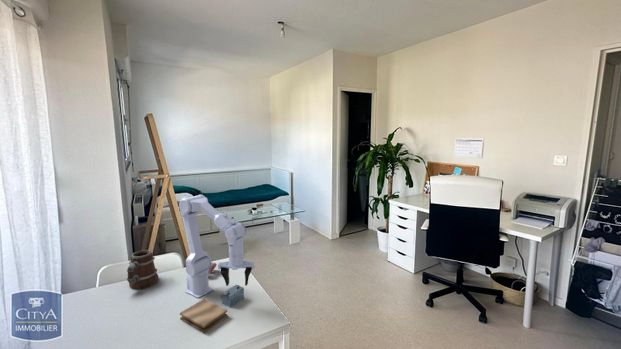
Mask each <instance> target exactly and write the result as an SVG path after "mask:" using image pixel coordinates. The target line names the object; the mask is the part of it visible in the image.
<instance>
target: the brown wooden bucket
mask: <svg viewBox="0 0 621 349" xmlns="http://www.w3.org/2000/svg"><path fill="white" fill-rule="evenodd" d="M155 258H156V257H155V256H154V255H153V253H152V252H151V250H150V249H142V250H139V251H136V252H133V253H132V254H131V256H130V261H129V262H128V264H129V266H128V267H127V268H126V269H127V270H126V272H127V278H126V280H127V282H128V286H129V287H130V288H131V289H132V290H142V289H146V288H150V287H151V286H153V285H155V284H157V283H158V280H159V275H158V273H157V272H158V268H156V266H155V261H154V260H155Z"/></svg>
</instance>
